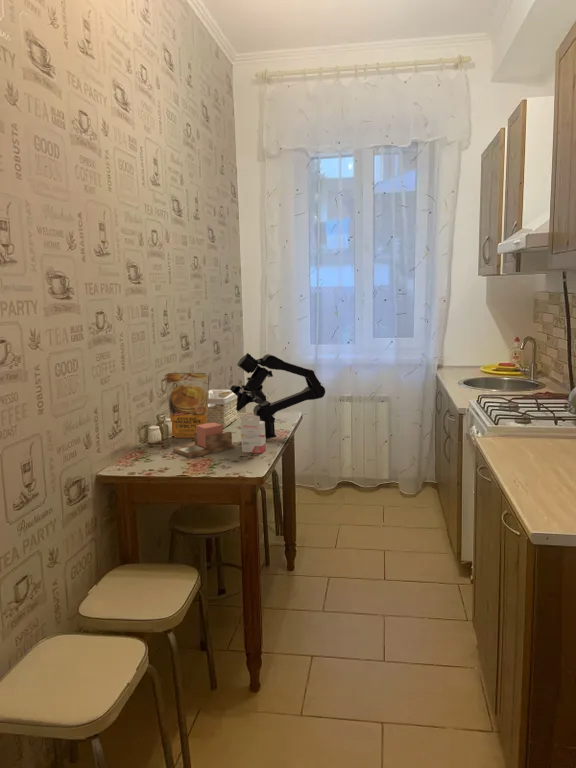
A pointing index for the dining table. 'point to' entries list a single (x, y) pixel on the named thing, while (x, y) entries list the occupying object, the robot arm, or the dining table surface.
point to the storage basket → (222, 407)
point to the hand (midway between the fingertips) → (237, 410)
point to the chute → (207, 445)
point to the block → (207, 432)
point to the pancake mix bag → (187, 402)
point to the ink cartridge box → (253, 434)
